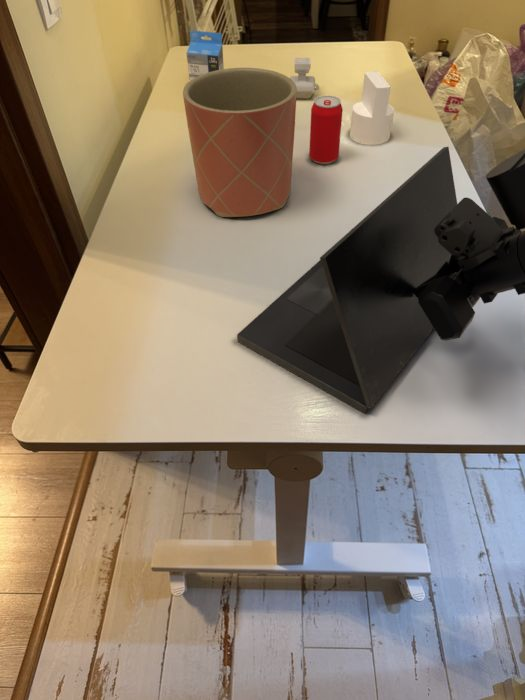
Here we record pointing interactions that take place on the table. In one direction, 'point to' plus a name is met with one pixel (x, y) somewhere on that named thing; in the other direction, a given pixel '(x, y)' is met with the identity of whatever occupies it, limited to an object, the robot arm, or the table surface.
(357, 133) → the cylinder with rectangular tab
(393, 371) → the laptop screen
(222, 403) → the table surface
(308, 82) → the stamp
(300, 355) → the laptop
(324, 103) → the beverage can
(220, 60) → the ink cartridge box
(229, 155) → the planter
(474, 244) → the robot arm
